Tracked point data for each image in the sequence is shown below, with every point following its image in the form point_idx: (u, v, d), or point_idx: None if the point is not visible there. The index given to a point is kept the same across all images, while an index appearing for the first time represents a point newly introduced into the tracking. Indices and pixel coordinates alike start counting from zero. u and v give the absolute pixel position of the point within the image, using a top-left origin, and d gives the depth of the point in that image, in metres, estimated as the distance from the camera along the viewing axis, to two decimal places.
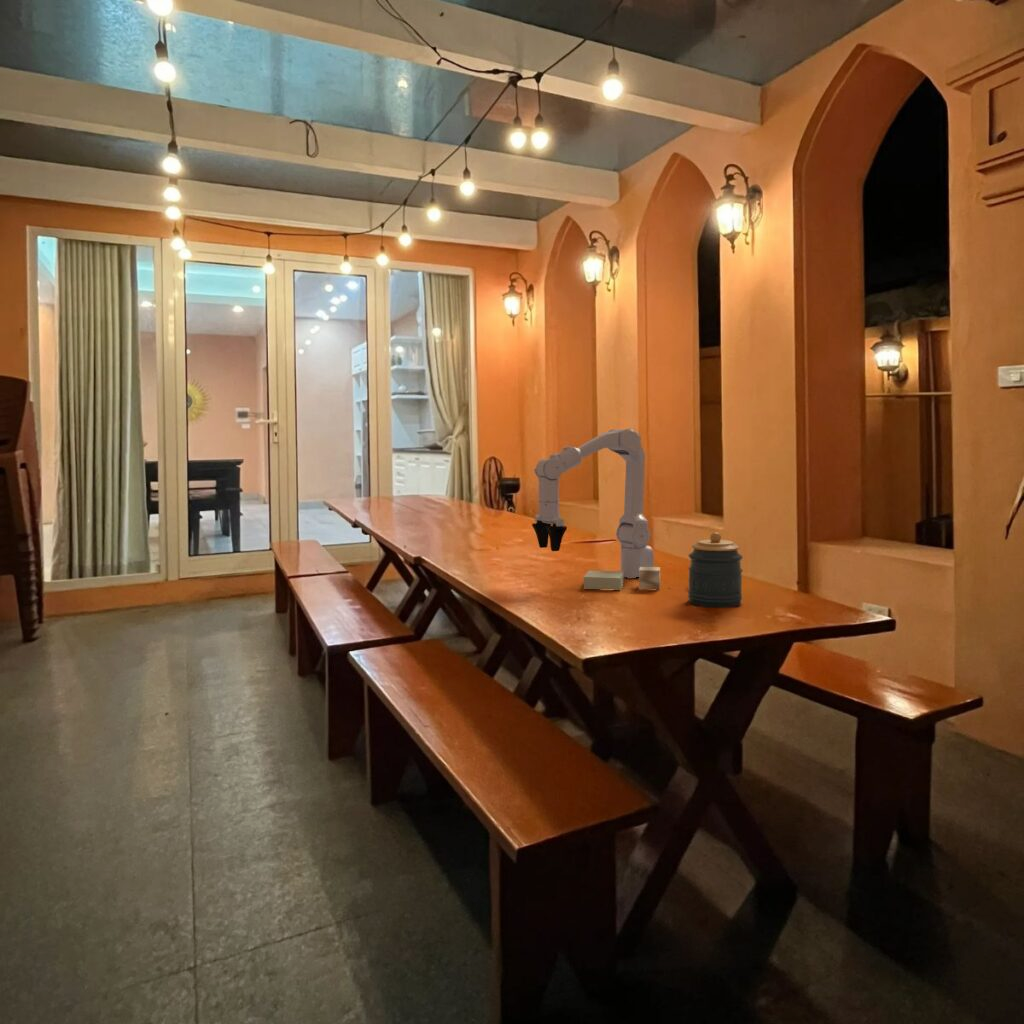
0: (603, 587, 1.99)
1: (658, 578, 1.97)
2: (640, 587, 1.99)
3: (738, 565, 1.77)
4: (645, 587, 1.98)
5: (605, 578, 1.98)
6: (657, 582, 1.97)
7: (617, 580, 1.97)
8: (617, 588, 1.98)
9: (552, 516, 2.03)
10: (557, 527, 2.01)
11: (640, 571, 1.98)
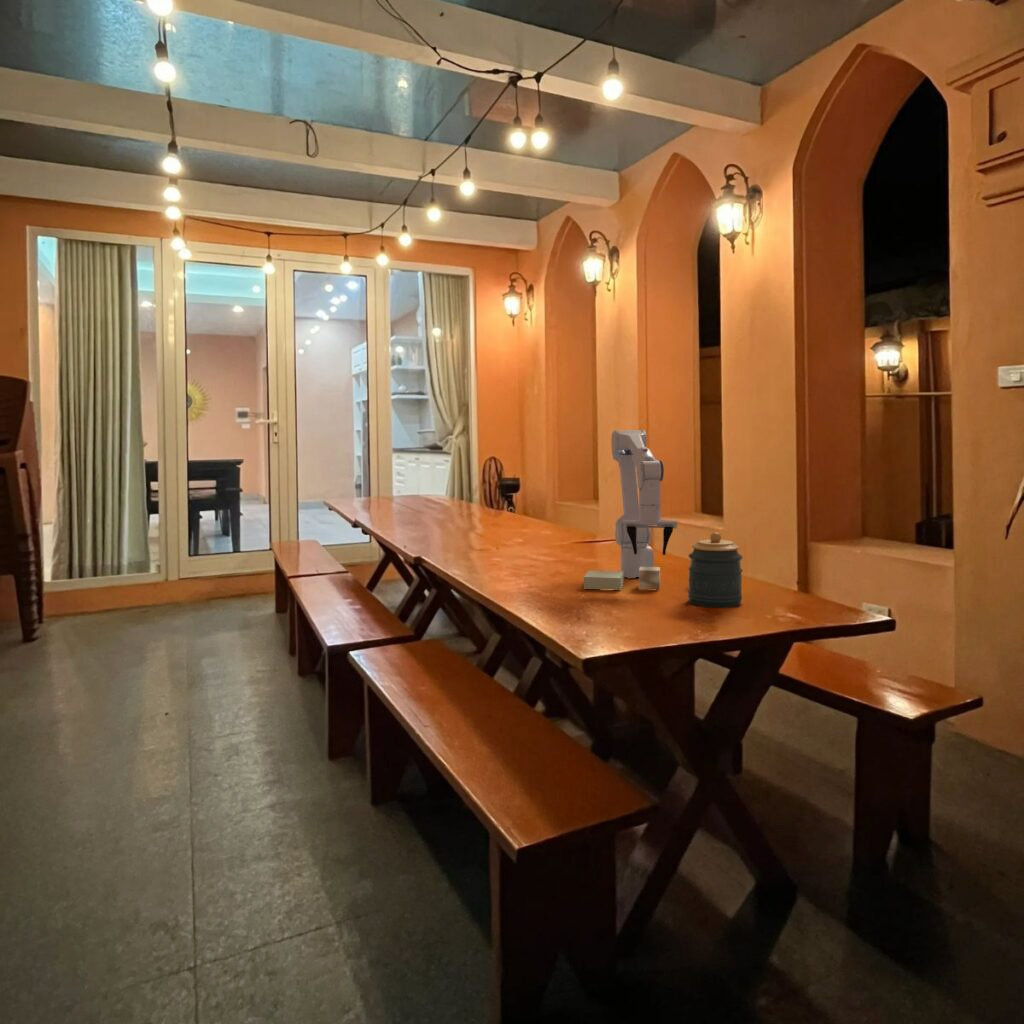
0: (603, 587, 1.99)
1: (658, 578, 1.97)
2: (640, 587, 1.99)
3: (738, 565, 1.77)
4: (645, 587, 1.98)
5: (605, 578, 1.98)
6: (657, 582, 1.97)
7: (617, 580, 1.97)
8: (617, 588, 1.98)
9: (660, 519, 1.98)
10: (672, 529, 1.97)
11: (640, 571, 1.98)
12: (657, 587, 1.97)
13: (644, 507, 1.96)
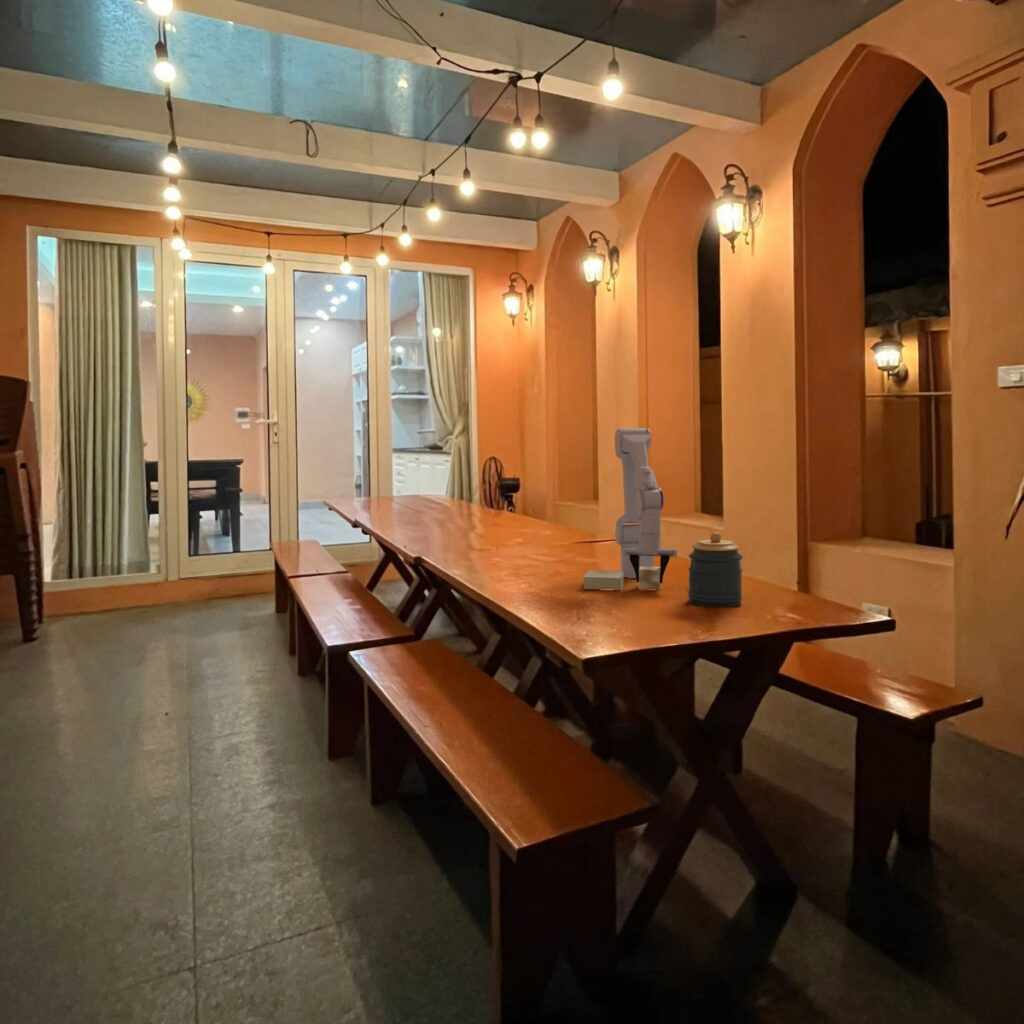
0: (603, 587, 1.99)
1: (658, 578, 1.97)
2: (640, 587, 1.99)
3: (738, 565, 1.77)
4: (645, 587, 1.98)
5: (605, 578, 1.98)
6: (657, 582, 1.97)
7: (617, 580, 1.97)
8: (617, 588, 1.98)
9: (660, 548, 1.99)
10: (669, 558, 1.98)
11: (640, 571, 1.98)
12: (657, 587, 1.97)
13: (644, 536, 1.97)
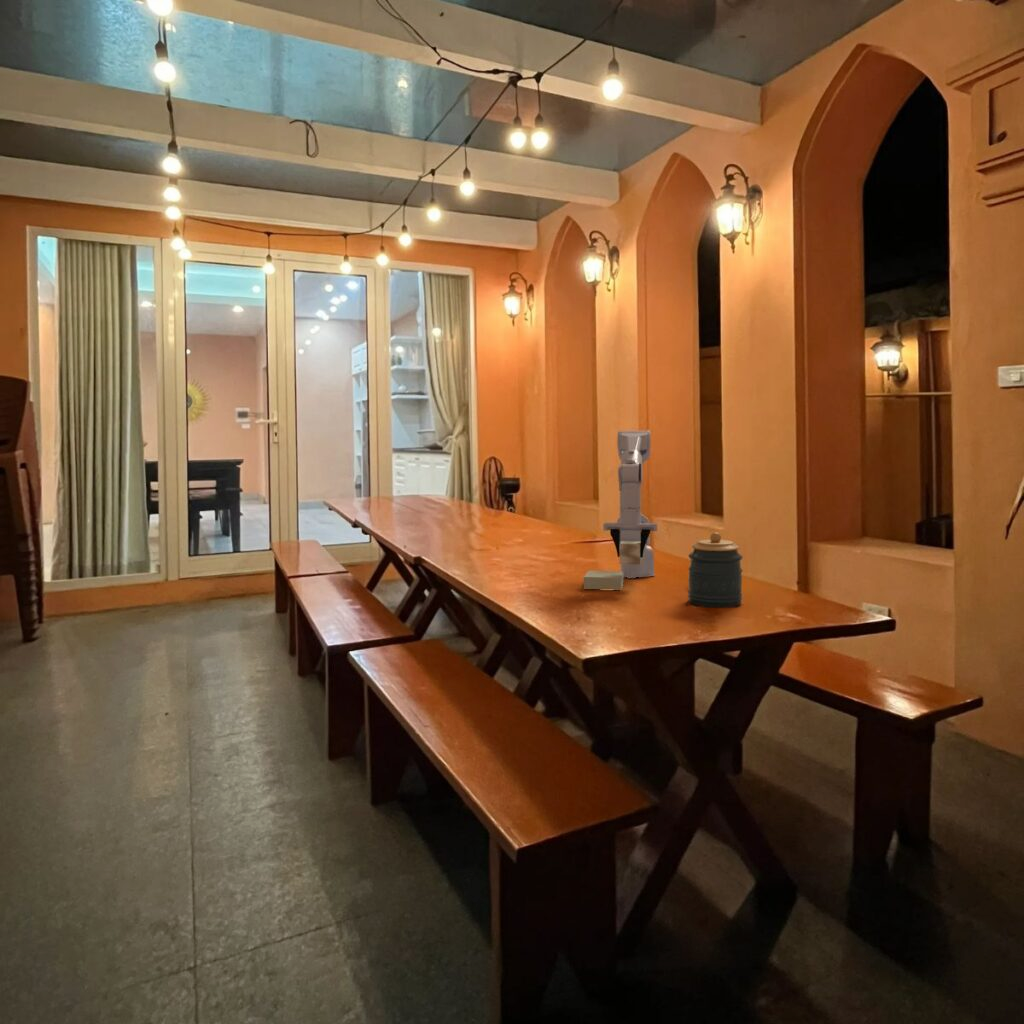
0: (603, 587, 1.99)
1: (638, 552, 1.98)
2: (621, 561, 1.99)
3: (738, 565, 1.77)
4: (626, 561, 1.99)
5: (605, 578, 1.98)
6: (637, 556, 1.98)
7: (617, 580, 1.97)
8: (617, 588, 1.98)
9: (640, 522, 1.99)
10: (649, 532, 1.99)
11: (621, 545, 1.99)
12: (637, 561, 1.98)
13: (624, 510, 1.98)
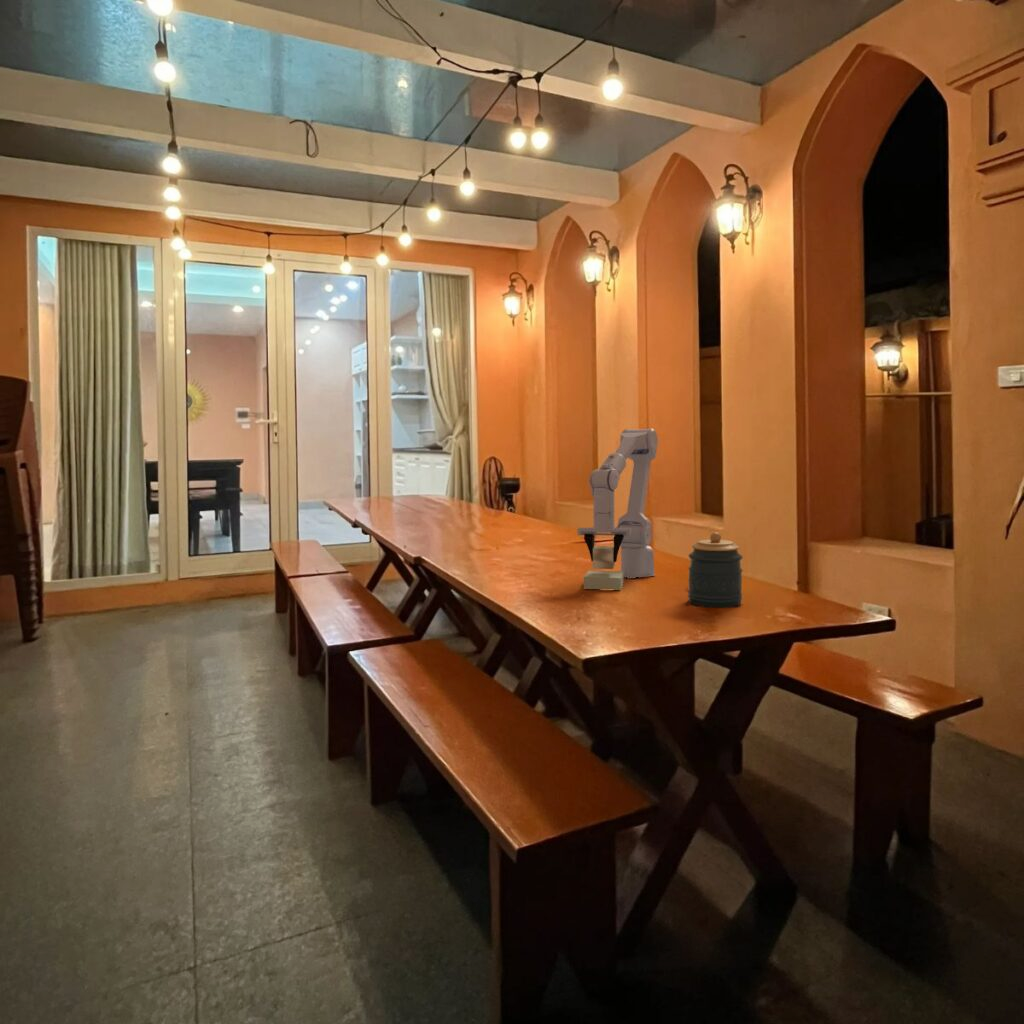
0: (603, 587, 1.99)
1: (612, 556, 2.00)
2: (594, 565, 2.01)
3: (738, 565, 1.77)
4: (599, 565, 2.00)
5: (605, 578, 1.98)
6: (611, 560, 2.00)
7: (617, 580, 1.97)
8: (617, 588, 1.98)
9: None
10: (623, 537, 2.01)
11: (594, 550, 2.00)
12: (611, 565, 2.00)
13: (598, 515, 2.00)
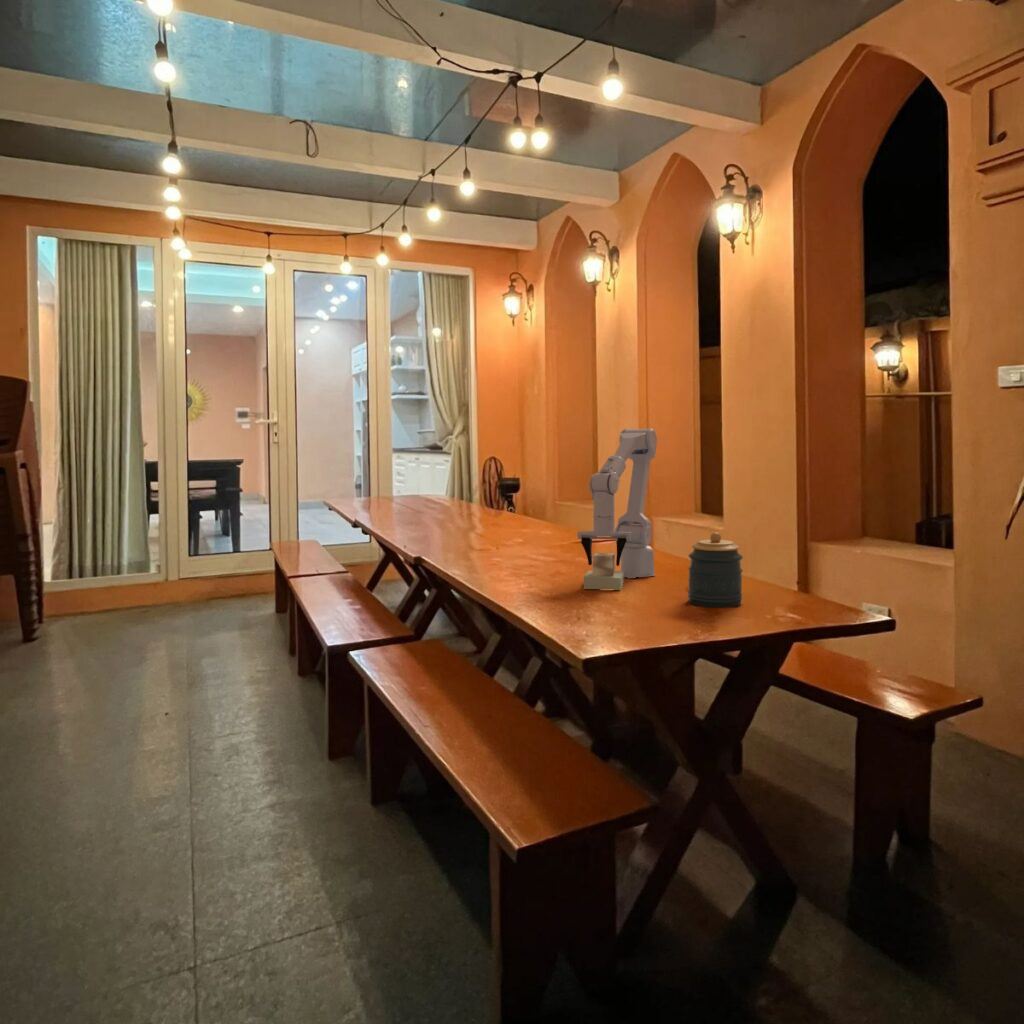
0: (603, 587, 1.99)
1: (612, 564, 2.00)
2: (594, 573, 2.01)
3: (738, 565, 1.77)
4: (599, 573, 2.01)
5: (605, 578, 1.98)
6: (611, 568, 2.00)
7: (617, 580, 1.97)
8: (617, 588, 1.98)
9: None
10: (626, 541, 2.00)
11: (594, 557, 2.01)
12: (611, 573, 2.00)
13: (598, 519, 2.00)
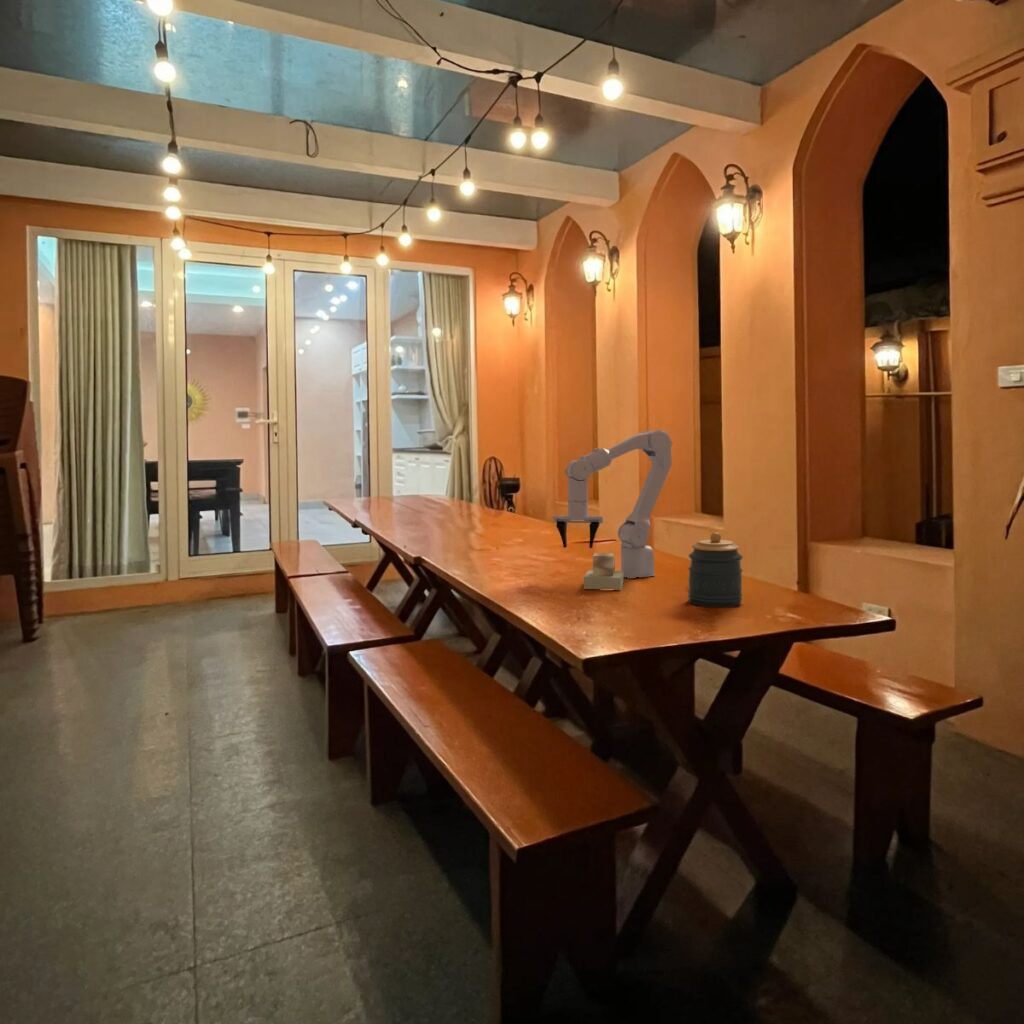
0: (603, 587, 1.99)
1: (612, 564, 2.00)
2: (594, 573, 2.01)
3: (738, 565, 1.77)
4: (599, 573, 2.01)
5: (605, 578, 1.98)
6: (611, 568, 2.00)
7: (617, 580, 1.97)
8: (617, 588, 1.98)
9: (587, 515, 2.12)
10: (598, 524, 2.12)
11: (594, 557, 2.01)
12: (611, 573, 2.00)
13: (572, 503, 2.11)
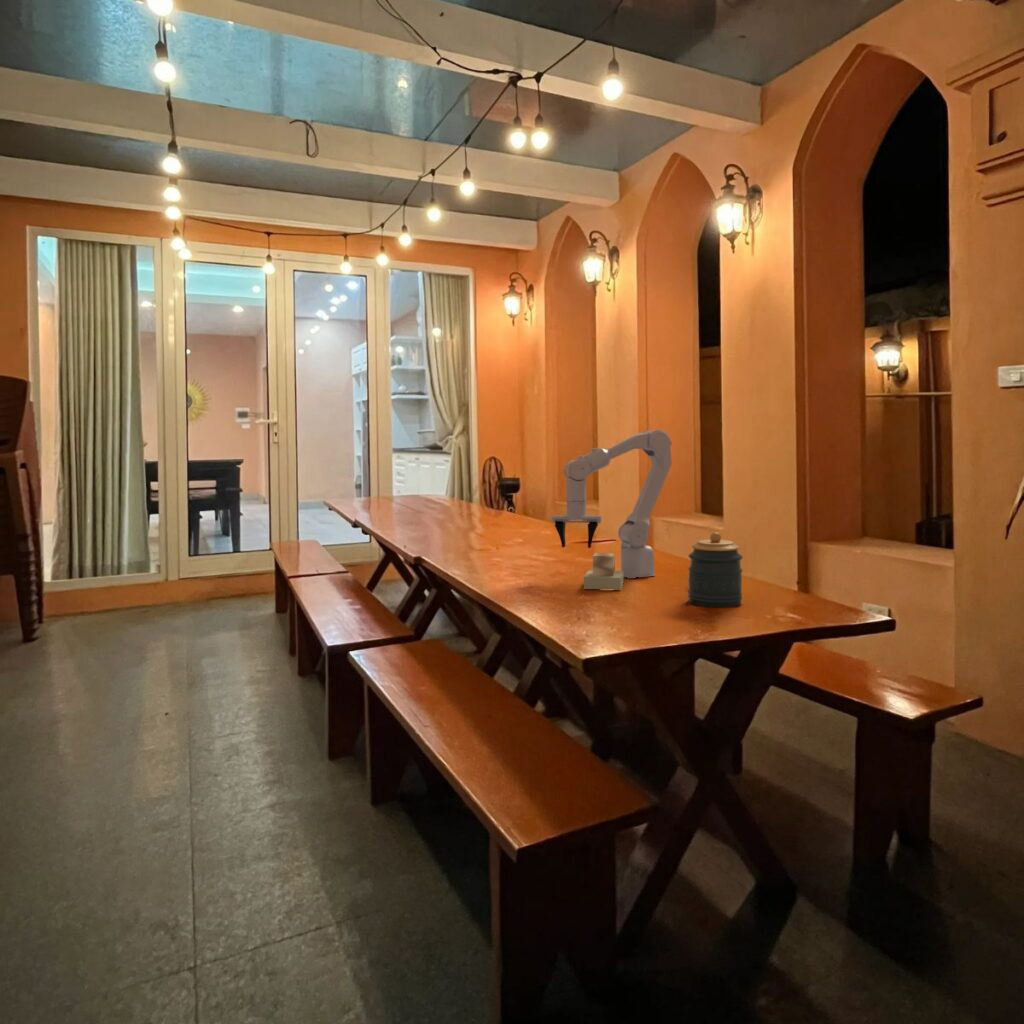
0: (603, 587, 1.99)
1: (612, 564, 2.00)
2: (594, 573, 2.01)
3: (738, 565, 1.77)
4: (599, 573, 2.01)
5: (605, 578, 1.98)
6: (611, 568, 2.00)
7: (617, 580, 1.97)
8: (617, 588, 1.98)
9: (585, 514, 2.13)
10: (597, 524, 2.13)
11: (594, 557, 2.01)
12: (611, 573, 2.00)
13: (570, 503, 2.12)
